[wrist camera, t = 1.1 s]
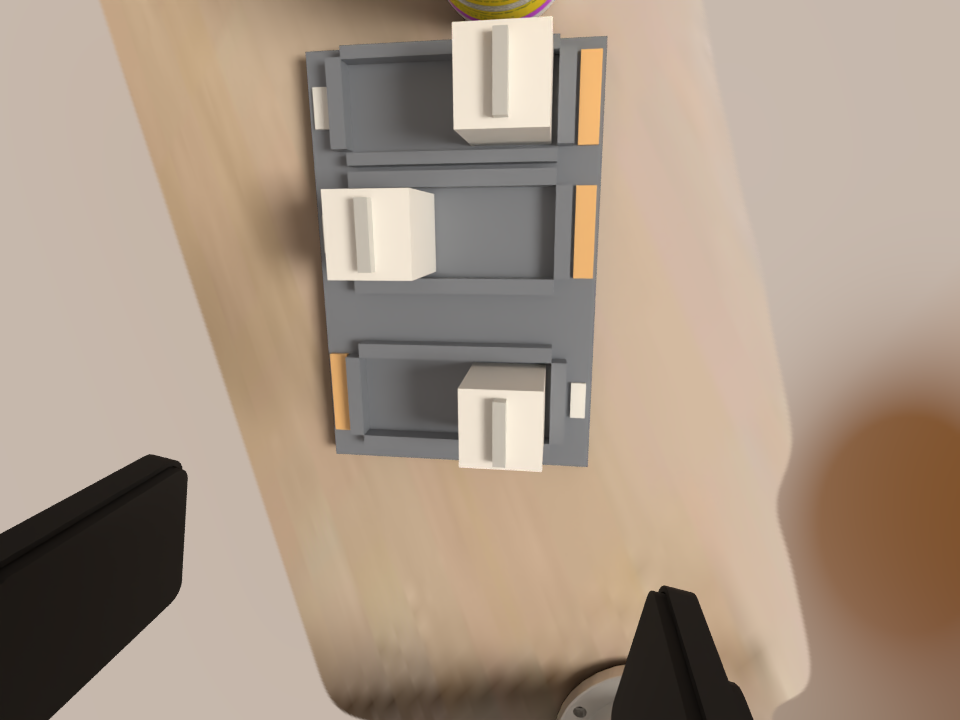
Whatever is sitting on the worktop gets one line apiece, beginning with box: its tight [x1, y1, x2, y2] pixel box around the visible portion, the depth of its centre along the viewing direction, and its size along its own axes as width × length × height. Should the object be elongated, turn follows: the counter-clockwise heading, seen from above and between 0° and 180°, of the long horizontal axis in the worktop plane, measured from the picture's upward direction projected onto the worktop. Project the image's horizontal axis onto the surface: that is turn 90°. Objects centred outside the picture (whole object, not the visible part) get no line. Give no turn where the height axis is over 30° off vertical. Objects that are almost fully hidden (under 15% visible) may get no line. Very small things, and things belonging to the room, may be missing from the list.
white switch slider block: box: [458, 362, 546, 472], centre depth 27 cm, size 4×4×6 cm
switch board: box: [306, 16, 607, 467], centre depth 27 cm, size 22×15×7 cm
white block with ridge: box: [321, 188, 436, 281], centre depth 26 cm, size 4×4×6 cm
